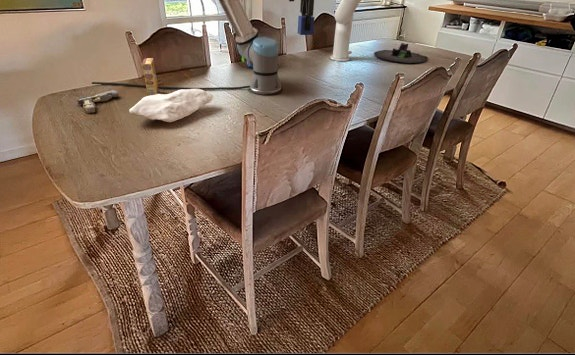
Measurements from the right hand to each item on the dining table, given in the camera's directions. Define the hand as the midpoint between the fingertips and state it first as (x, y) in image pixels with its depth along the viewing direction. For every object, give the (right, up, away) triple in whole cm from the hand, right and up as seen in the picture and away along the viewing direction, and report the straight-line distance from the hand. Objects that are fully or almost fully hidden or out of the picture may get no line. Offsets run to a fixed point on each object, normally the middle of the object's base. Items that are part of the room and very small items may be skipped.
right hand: (288, 0), depth 223 cm
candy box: (-62, -71, -57) cm, 110 cm away
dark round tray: (+74, -29, +19) cm, 82 cm away
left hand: (+9, -32, -36) cm, 49 cm away
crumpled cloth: (-48, -83, -74) cm, 121 cm away
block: (+9, -34, -34) cm, 49 cm away
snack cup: (-20, -45, -13) cm, 51 cm away
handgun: (-81, -78, -68) cm, 131 cm away
